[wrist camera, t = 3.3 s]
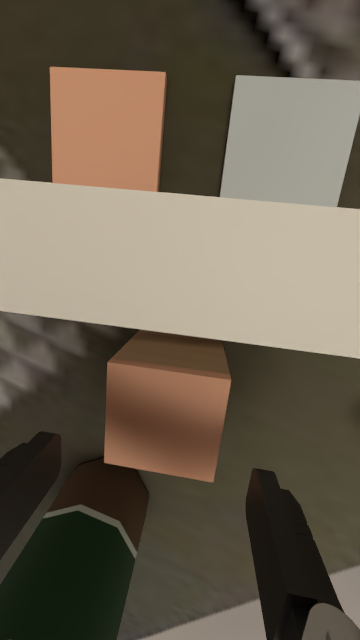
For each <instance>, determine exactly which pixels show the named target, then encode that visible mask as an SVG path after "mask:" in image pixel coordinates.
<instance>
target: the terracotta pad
mask: <svg viewBox="0 0 360 640" xmlns="http://www.w3.org/2000/svg"><path fill="white" fill-rule="evenodd" d="M166 91H167V76H166V72H154V71H132V70H110V69H88V68H66V67H50V93H51V135H52V176H53V183H59V184H71V185H82V186H94V187H106V188H117V189H129V190H141V191H152V192H159V184H160V170H161V157H162V144H163V131H164V118H165V104H166Z"/></svg>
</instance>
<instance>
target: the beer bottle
mask: <svg viewBox="0 0 360 640" xmlns="http://www.w3.org/2000/svg"><path fill="white" fill-rule="evenodd" d="M148 499H149V496H148V493H147V491H146V489H145V487H144V485H143V483H142V481H141V479H140V477H139V475H138V473H137V472H136V470H135V469H133V468H130V467H124V466H119V465H113V464H107V463H104V458H102V459H98V460H95V461H91V462H88V463H84V464H81V465H79V466H78V467H77V468H76V469H75V471H74V472H73V473H72V475H71V476H70V478H69V479H68V480H67V482H66V483H65V485H64V486H63V488H62V489H61V491H60V492H59V494H58V496H57V497H56V499H55V500H54V502H53V503H52V505H51V507H50V508H49V510H48V511H47V513H46V514H45V516H44V518H43V519H42V521H41V522H40V524H39V525H38V527H37V528H36V530H35V532H34V533H33V535H32V536H31V538H30V539H29V541H28V543H27V544H26V546H25V547H24V549H23V550H22V552H21V553H20V555H19V557H18V558H17V560H16V561H15V563H14V564H13V566H12V568H11V569H10V571H9V572H8V574H7V575H6V577H5V578H4V580H3V582H2V583H1V585H0V640H116V639H117V635H118V631H119V627H120V622H121V618H122V614H123V610H124V605H125V601H126V597H127V593H128V588H129V584H130V580H131V576H132V572H133V567H134V563H135V559H136V555H137V550H138V546H139V542H140V538H141V533H142V529H143V525H144V521H145V516H146V510H147V505H148Z"/></svg>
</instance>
